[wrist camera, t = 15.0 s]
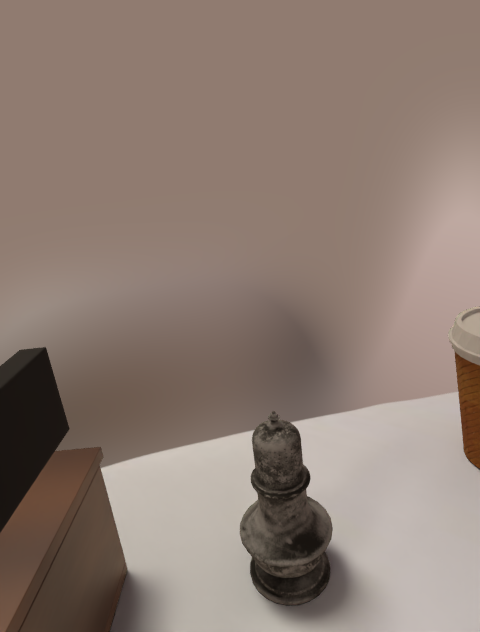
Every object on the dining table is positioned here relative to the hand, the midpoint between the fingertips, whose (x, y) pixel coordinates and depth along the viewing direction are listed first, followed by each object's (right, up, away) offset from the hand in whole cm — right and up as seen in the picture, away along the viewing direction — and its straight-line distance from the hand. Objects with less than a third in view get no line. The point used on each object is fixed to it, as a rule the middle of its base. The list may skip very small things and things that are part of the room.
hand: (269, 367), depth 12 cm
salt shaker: (+2, -15, +17) cm, 23 cm away
